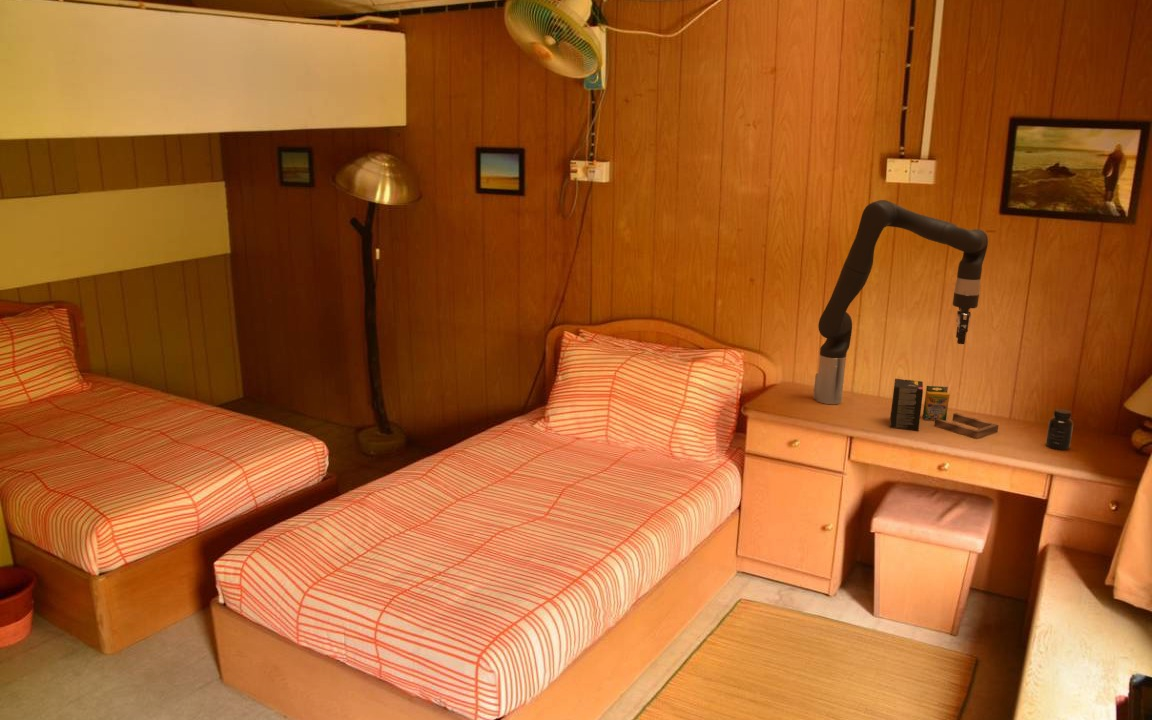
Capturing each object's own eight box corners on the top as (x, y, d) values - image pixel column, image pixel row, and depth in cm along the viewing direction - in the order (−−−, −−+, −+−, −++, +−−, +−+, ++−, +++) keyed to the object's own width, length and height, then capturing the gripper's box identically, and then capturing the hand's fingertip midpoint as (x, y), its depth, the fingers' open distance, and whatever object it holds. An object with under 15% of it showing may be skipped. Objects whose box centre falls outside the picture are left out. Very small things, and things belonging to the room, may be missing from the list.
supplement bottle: (1048, 441, 297) (1054, 406, 294) (1071, 446, 293) (1077, 410, 290) (1043, 447, 292) (1048, 411, 289) (1066, 452, 288) (1072, 415, 285)
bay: (934, 425, 310) (934, 419, 309) (954, 419, 317) (955, 412, 316) (976, 439, 298) (977, 432, 297) (997, 431, 305) (998, 425, 304)
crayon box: (924, 420, 315) (928, 387, 312) (922, 417, 318) (926, 385, 315) (946, 421, 315) (950, 389, 312) (943, 418, 318) (948, 386, 315)
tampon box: (918, 431, 304) (924, 389, 300) (889, 428, 307) (894, 386, 303) (918, 421, 314) (923, 380, 310) (889, 418, 317) (894, 377, 313)
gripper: (953, 287, 303) (947, 335, 307) (955, 295, 290) (948, 344, 294) (977, 289, 300) (971, 337, 305) (980, 297, 287) (973, 347, 292)
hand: (960, 340), depth 299 cm, fingers open, 8 cm apart
